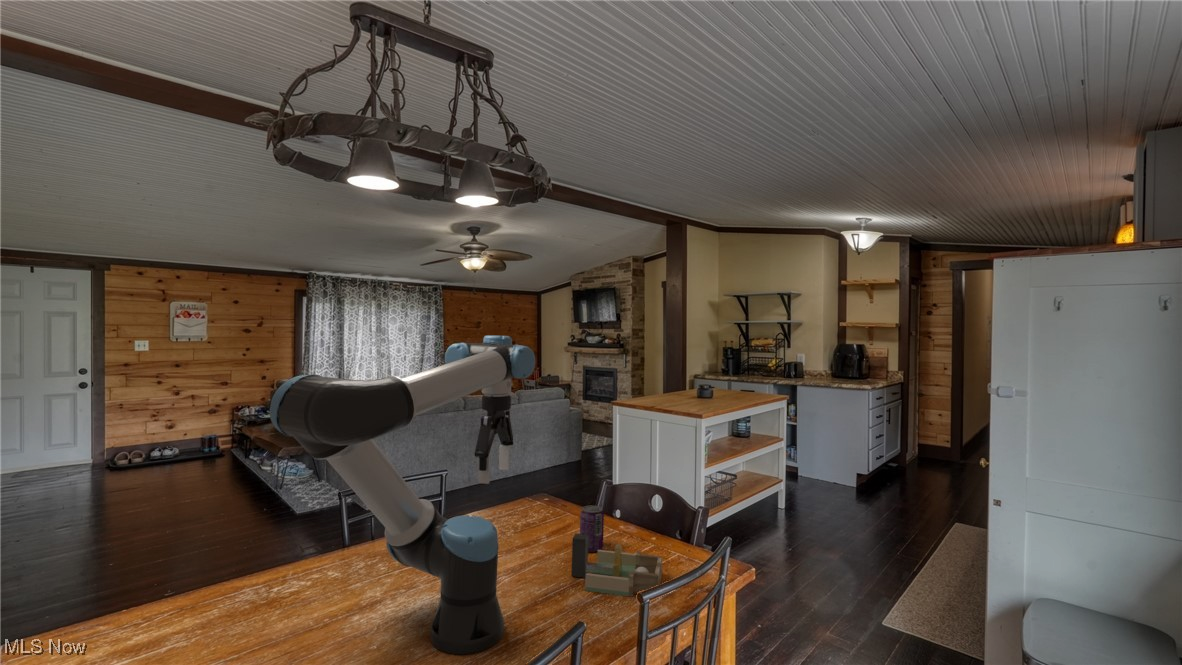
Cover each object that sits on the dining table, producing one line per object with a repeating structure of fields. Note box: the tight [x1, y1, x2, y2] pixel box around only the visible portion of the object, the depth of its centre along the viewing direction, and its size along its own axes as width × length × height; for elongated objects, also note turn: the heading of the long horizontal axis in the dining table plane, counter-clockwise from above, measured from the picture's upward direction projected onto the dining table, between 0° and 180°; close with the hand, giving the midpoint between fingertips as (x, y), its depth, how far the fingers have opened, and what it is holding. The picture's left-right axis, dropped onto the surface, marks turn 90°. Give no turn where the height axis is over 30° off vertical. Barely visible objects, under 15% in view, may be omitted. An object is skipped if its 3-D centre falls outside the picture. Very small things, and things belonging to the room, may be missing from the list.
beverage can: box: [579, 505, 605, 553], centre depth 160 cm, size 7×7×12 cm
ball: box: [635, 567, 649, 573], centre depth 138 cm, size 4×4×4 cm
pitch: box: [584, 549, 636, 597], centre depth 140 cm, size 16×11×4 cm
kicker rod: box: [571, 533, 623, 579], centre depth 141 cm, size 6×13×10 cm, turn 78°
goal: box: [628, 550, 663, 598], centre depth 138 cm, size 16×7×5 cm, turn 168°
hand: (494, 476), depth 139 cm, fingers open, 13 cm apart
